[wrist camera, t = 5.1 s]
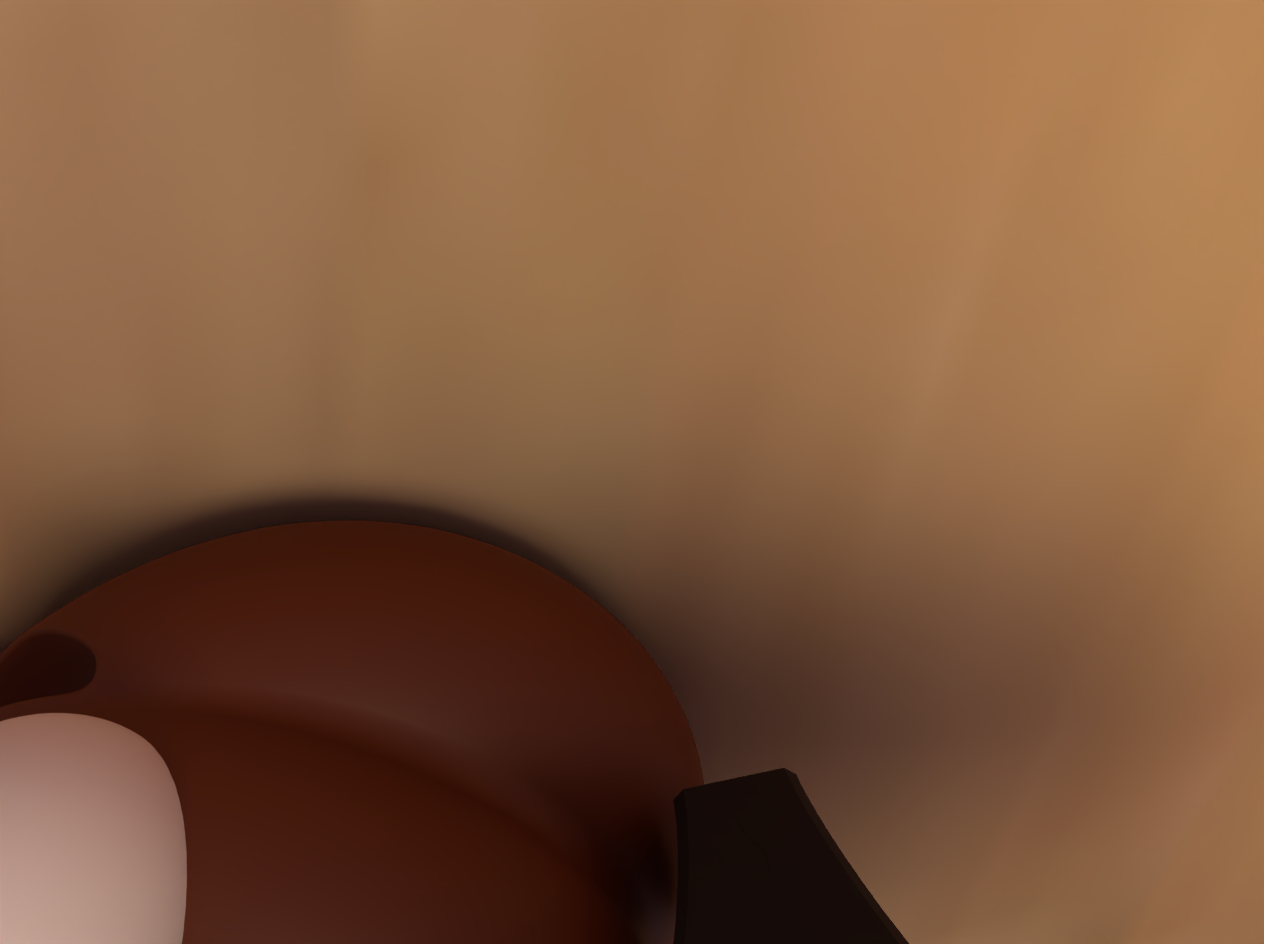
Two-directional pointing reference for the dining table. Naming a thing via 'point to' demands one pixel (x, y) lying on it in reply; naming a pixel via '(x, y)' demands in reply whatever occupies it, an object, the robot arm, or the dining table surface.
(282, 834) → the poop emoji
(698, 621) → the dining table surface
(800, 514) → the dining table surface
